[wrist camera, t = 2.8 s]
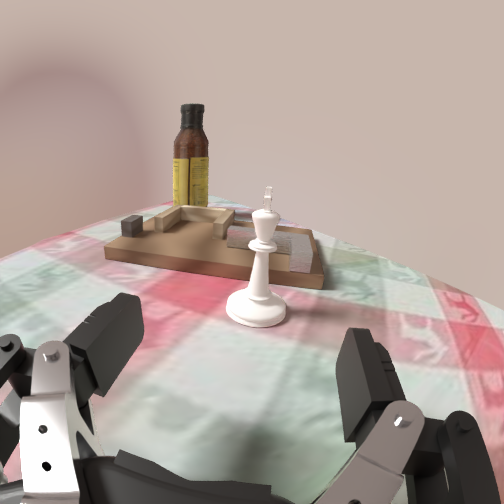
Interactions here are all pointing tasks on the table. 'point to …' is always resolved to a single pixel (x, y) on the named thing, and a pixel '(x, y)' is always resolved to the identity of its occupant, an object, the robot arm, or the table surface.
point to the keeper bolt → (285, 242)
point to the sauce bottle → (191, 159)
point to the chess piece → (259, 276)
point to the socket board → (204, 246)
